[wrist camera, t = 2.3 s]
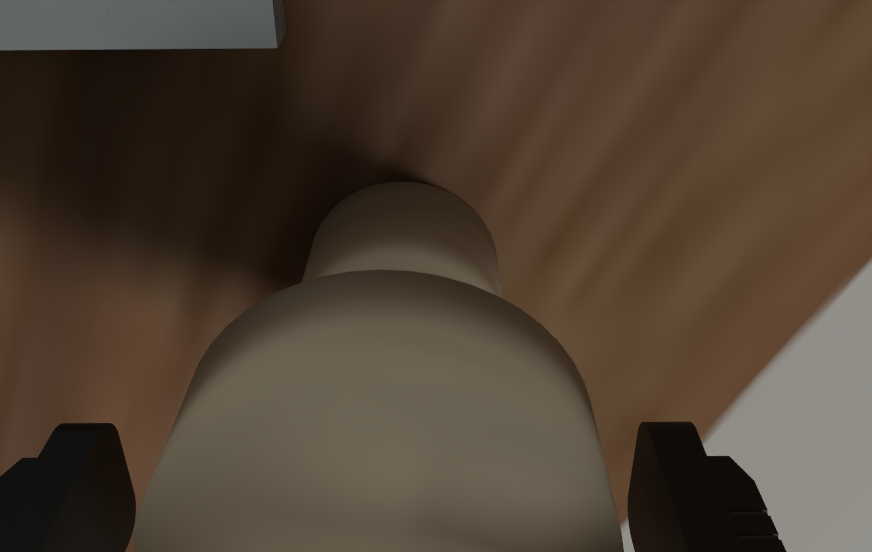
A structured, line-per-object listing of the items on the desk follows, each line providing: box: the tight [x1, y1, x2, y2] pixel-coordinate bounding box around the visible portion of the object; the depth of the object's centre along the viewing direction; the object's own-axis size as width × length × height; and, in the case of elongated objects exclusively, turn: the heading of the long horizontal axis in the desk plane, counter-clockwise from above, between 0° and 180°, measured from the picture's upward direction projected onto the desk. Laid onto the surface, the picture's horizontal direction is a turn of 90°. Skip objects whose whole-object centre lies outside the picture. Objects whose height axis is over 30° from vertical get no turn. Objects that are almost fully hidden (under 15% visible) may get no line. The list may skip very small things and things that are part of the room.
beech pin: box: [134, 181, 624, 552], centre depth 14 cm, size 6×6×8 cm
